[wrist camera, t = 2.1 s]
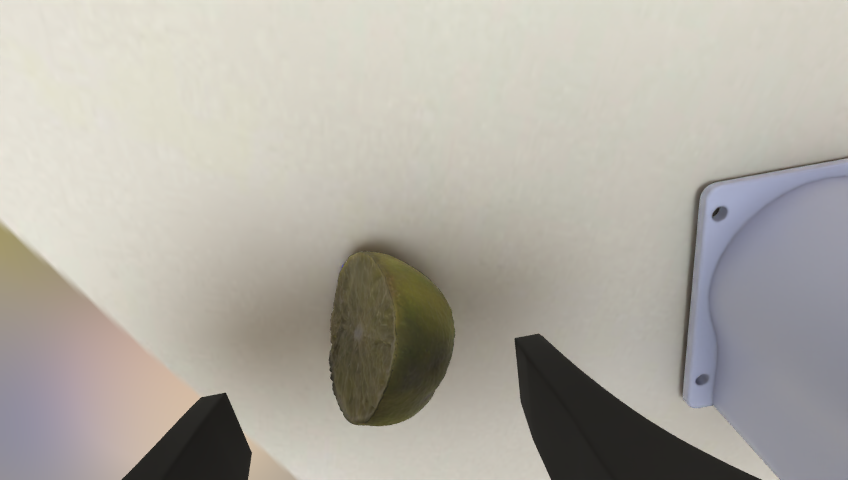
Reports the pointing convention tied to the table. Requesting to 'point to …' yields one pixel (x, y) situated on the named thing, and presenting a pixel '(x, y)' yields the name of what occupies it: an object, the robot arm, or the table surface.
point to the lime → (387, 339)
